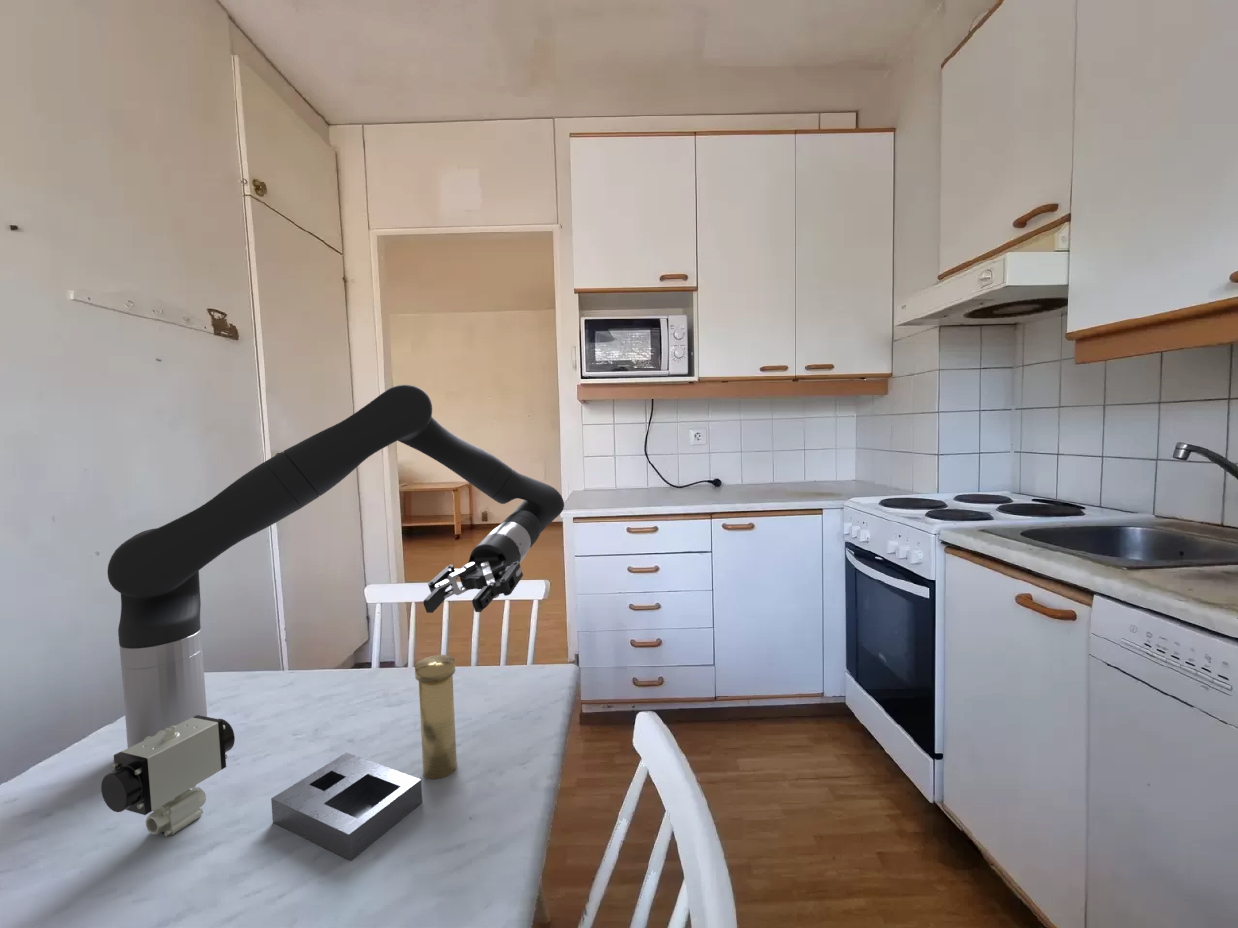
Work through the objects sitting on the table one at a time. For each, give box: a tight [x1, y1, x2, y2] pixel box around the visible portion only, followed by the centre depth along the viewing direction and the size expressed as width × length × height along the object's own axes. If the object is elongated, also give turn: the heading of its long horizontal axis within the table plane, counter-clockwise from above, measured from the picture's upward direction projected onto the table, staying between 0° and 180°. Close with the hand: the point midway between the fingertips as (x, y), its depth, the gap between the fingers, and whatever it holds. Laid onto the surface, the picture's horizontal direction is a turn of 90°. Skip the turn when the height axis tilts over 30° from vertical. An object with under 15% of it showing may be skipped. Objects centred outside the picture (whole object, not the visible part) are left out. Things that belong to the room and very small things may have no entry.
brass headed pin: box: [414, 654, 458, 780], centre depth 72 cm, size 5×5×15 cm
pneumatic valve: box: [100, 715, 236, 837], centre depth 63 cm, size 6×12×12 cm, turn 162°
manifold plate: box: [270, 752, 423, 862], centre depth 65 cm, size 14×10×3 cm
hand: (451, 607), depth 77 cm, fingers open, 8 cm apart
